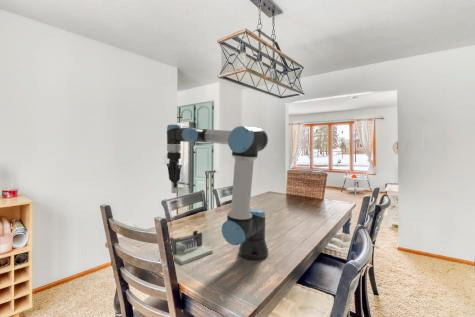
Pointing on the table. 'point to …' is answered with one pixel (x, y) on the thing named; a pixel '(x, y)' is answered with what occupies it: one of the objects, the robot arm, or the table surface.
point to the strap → (187, 238)
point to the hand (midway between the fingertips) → (174, 192)
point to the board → (192, 254)
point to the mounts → (198, 240)
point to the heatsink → (187, 246)
